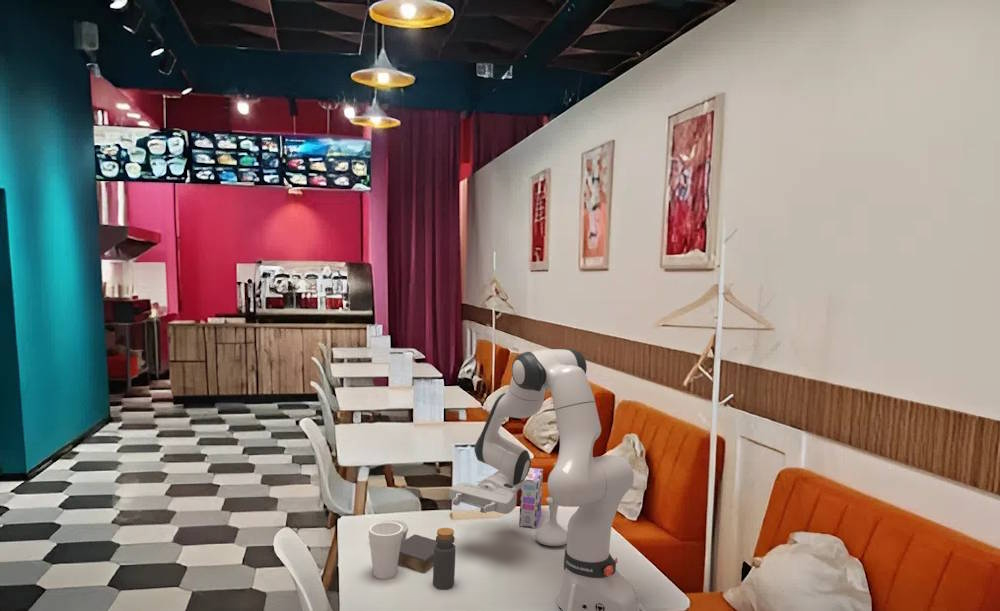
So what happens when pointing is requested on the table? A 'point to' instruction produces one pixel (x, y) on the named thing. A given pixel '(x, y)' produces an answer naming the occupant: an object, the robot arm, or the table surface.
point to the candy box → (531, 498)
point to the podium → (417, 553)
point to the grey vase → (551, 528)
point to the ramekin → (404, 525)
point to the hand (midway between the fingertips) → (468, 506)
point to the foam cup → (385, 548)
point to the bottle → (444, 559)
